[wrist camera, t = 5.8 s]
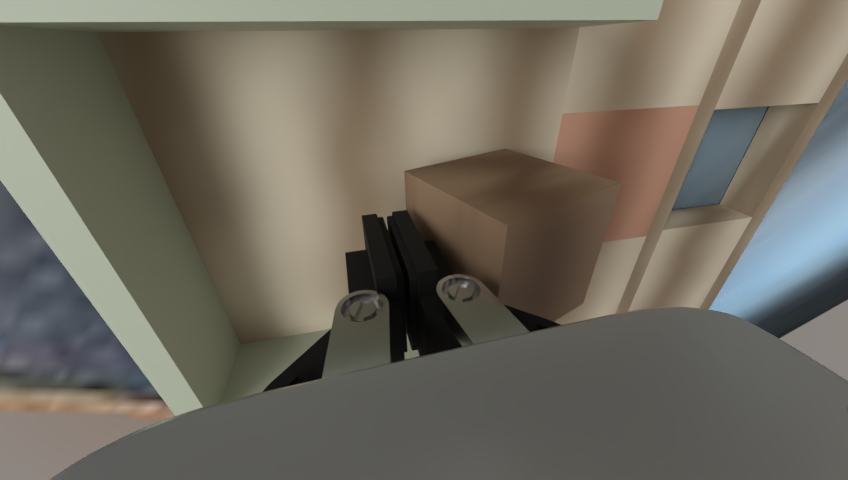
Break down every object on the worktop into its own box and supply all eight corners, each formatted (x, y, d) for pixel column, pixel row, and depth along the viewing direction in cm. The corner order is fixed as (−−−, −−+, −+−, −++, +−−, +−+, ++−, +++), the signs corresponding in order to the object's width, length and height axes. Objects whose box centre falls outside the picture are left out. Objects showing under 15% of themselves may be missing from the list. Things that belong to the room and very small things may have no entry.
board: (889, -96, 14) (964, -116, 12) (684, 291, 25) (708, 308, 24) (6, -172, 8) (-79, -227, 7) (254, 372, 20) (246, 402, 18)
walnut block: (505, 148, 14) (621, 182, 10) (493, 247, 16) (583, 303, 13) (404, 171, 11) (507, 225, 8) (409, 282, 14) (488, 362, 10)
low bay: (573, -6, 11) (672, -30, 8) (516, 309, 19) (553, 364, 16) (32, -13, 8) (-174, -54, 5) (225, 361, 16) (195, 443, 13)
